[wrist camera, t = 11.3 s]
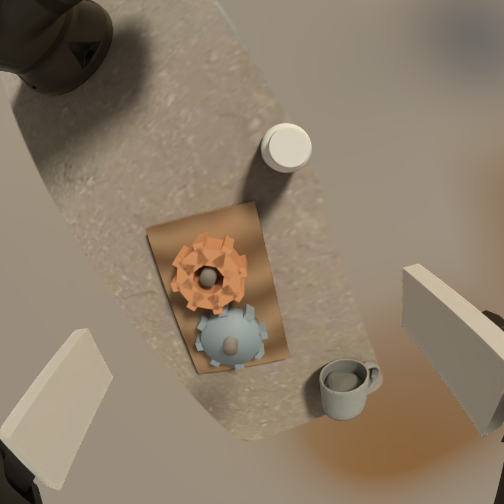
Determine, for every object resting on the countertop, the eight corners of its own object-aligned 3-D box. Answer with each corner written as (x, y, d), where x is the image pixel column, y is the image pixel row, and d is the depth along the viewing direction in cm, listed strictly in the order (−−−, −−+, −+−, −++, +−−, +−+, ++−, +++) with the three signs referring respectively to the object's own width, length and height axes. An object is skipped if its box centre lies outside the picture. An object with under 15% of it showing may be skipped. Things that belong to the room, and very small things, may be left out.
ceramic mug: (318, 398, 48) (327, 430, 41) (314, 364, 46) (325, 397, 38) (375, 383, 48) (390, 412, 40) (377, 348, 45) (395, 376, 38)
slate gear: (188, 308, 41) (185, 317, 38) (258, 294, 40) (259, 302, 38) (209, 363, 43) (207, 373, 41) (272, 352, 43) (274, 362, 40)
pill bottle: (279, 119, 35) (289, 108, 26) (310, 149, 36) (329, 147, 28) (249, 149, 36) (250, 147, 28) (281, 179, 37) (291, 185, 29)
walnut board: (149, 226, 39) (133, 238, 33) (254, 200, 38) (255, 208, 32) (199, 367, 45) (194, 393, 40) (288, 351, 45) (293, 377, 39)
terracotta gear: (169, 241, 38) (160, 252, 33) (237, 224, 37) (236, 234, 33) (189, 303, 40) (183, 320, 36) (254, 290, 40) (255, 306, 36)
